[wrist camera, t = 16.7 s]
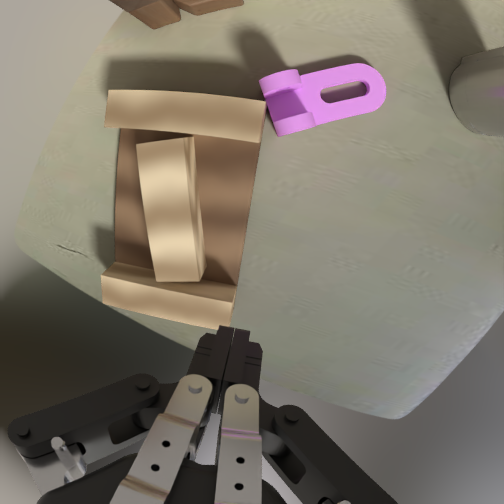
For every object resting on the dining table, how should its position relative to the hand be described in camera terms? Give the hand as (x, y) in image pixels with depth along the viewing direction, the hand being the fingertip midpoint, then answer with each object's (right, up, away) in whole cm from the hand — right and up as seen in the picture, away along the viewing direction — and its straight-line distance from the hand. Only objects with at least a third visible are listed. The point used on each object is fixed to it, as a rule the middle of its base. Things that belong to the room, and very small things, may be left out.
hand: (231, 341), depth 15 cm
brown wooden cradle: (-7, +10, +21) cm, 24 cm away
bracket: (+9, +21, +16) cm, 28 cm away
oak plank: (-7, +10, +20) cm, 23 cm away
